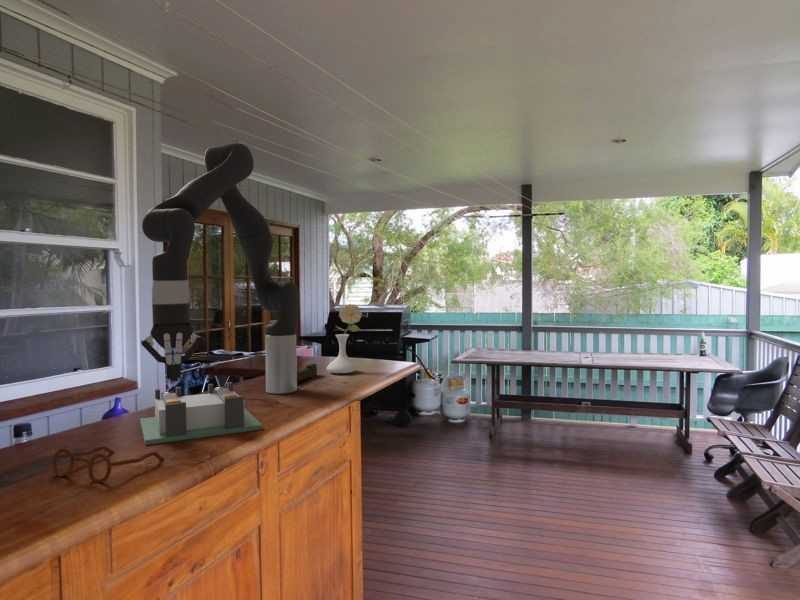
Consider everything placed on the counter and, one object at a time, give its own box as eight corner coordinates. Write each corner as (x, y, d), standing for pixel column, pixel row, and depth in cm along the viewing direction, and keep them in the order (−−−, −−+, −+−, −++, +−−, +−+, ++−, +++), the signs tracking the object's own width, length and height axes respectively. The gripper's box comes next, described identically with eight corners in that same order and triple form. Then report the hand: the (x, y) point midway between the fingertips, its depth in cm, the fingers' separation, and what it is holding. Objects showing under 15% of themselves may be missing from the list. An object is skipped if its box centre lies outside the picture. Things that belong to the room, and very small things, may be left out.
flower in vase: (322, 375, 190) (322, 304, 189) (332, 369, 201) (331, 303, 200) (358, 376, 188) (358, 304, 187) (366, 370, 199) (365, 303, 198)
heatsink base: (140, 422, 127) (139, 389, 127) (243, 410, 139) (242, 379, 138) (145, 445, 110) (144, 406, 110) (262, 429, 122) (261, 394, 121)
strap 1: (161, 400, 128) (160, 391, 128) (174, 398, 129) (174, 390, 129) (167, 413, 113) (167, 404, 113) (182, 412, 115) (182, 402, 115)
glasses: (50, 477, 93) (49, 449, 93) (113, 454, 106) (112, 429, 106) (107, 486, 89) (106, 457, 89) (166, 461, 101) (165, 435, 101)
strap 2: (213, 394, 133) (213, 386, 133) (226, 393, 135) (226, 385, 135) (226, 407, 119) (226, 398, 119) (240, 405, 120) (240, 397, 120)
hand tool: (295, 386, 171) (295, 372, 171) (284, 385, 173) (284, 371, 173) (323, 376, 189) (323, 363, 189) (313, 375, 191) (313, 362, 190)
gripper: (200, 299, 123) (202, 375, 124) (136, 301, 117) (139, 380, 117) (206, 301, 116) (208, 380, 117) (138, 303, 110) (140, 387, 111)
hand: (173, 380), depth 117 cm, fingers closed
